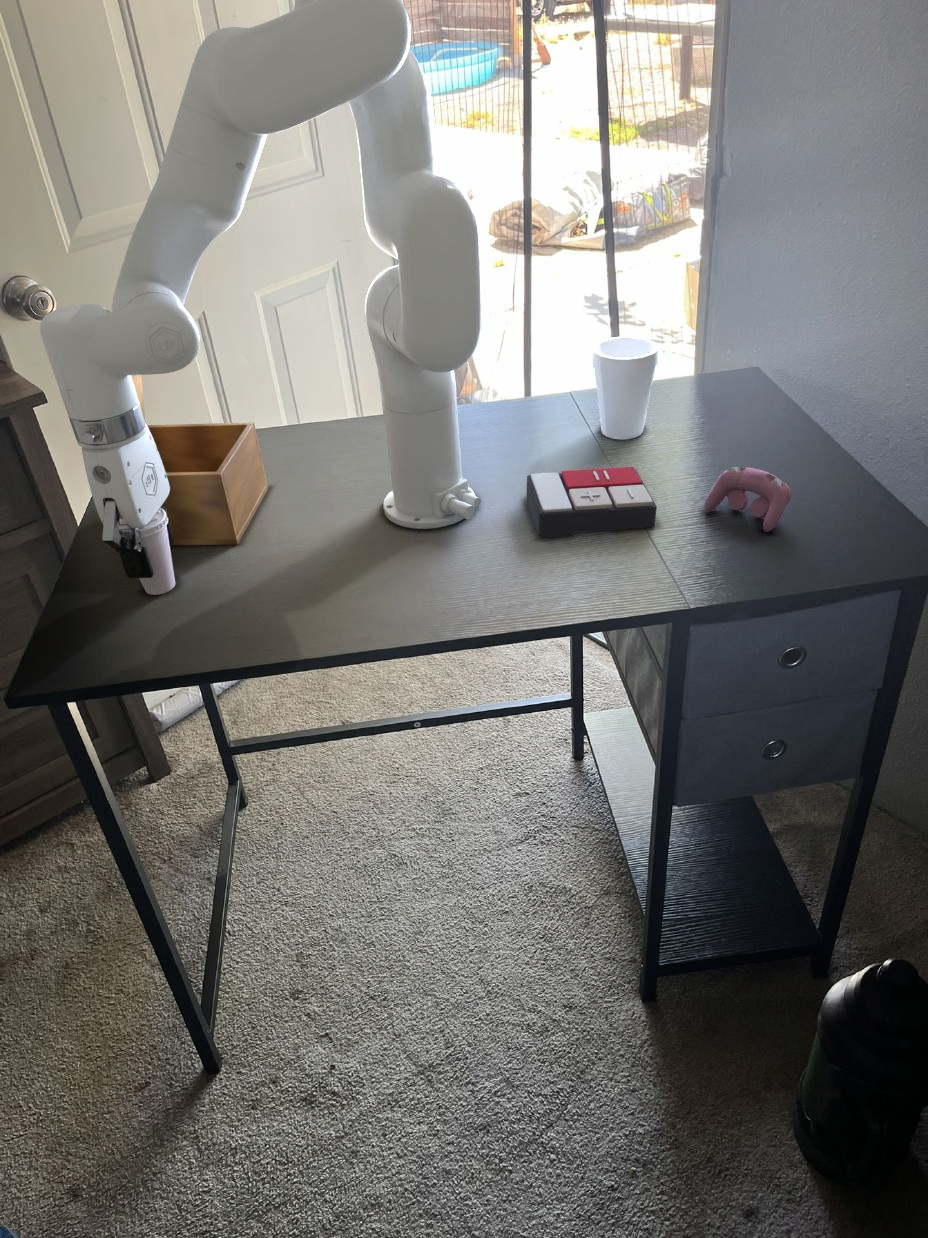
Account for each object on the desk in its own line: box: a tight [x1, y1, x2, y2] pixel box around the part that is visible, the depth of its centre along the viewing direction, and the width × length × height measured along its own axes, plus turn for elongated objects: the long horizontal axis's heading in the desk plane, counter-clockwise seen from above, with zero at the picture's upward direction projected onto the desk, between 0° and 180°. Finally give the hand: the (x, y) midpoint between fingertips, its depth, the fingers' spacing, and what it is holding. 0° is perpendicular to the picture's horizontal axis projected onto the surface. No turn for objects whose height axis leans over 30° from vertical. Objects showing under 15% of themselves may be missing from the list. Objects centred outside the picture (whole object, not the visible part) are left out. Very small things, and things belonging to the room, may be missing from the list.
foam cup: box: [591, 336, 659, 440], centre depth 137 cm, size 10×9×13 cm
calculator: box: [525, 466, 658, 539], centre depth 120 cm, size 11×4×15 cm
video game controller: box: [703, 466, 792, 533], centre depth 117 cm, size 10×5×7 cm, turn 47°
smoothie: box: [120, 508, 176, 596], centre depth 110 cm, size 6×6×14 cm
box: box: [146, 421, 269, 546], centre depth 125 cm, size 16×16×10 cm
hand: (151, 559), depth 112 cm, fingers closed on smoothie, 6 cm apart
